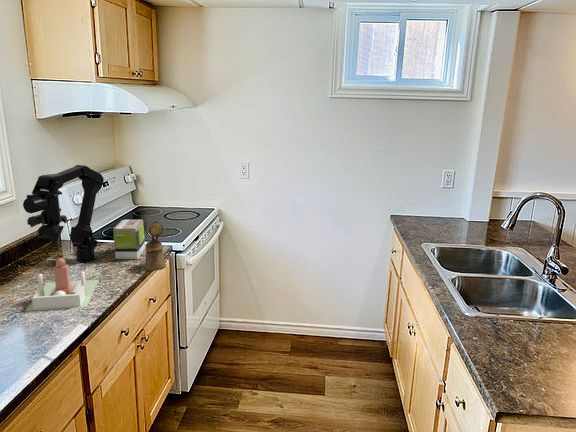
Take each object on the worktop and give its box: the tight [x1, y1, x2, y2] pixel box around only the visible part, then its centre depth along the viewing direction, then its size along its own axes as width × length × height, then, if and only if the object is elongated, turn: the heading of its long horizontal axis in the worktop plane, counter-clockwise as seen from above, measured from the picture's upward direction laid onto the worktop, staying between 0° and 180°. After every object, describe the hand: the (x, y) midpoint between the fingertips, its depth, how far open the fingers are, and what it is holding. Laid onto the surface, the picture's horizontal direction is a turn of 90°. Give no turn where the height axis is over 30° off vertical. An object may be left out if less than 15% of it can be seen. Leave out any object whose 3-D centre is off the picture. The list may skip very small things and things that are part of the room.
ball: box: [54, 291, 66, 296], centre depth 152 cm, size 4×4×4 cm
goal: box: [31, 271, 87, 309], centre depth 152 cm, size 9×15×9 cm, turn 103°
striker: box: [53, 257, 73, 295], centre depth 155 cm, size 4×5×14 cm
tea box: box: [112, 219, 146, 260], centre depth 200 cm, size 15×10×15 cm, turn 5°
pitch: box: [25, 279, 100, 312], centre depth 159 cm, size 24×19×2 cm
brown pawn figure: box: [144, 221, 167, 272], centre depth 187 cm, size 9×14×18 cm, turn 8°
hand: (55, 245), depth 175 cm, fingers closed
